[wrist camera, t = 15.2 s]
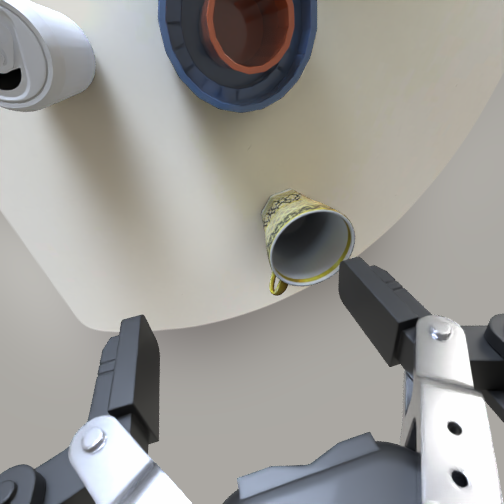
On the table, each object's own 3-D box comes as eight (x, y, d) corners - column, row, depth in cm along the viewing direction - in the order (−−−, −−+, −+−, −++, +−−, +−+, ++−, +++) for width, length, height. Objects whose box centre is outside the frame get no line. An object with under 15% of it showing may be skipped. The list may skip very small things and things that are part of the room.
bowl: (181, 114, 32) (183, 123, 28) (139, -60, 24) (133, -83, 20) (299, 93, 33) (317, 99, 29) (293, -77, 26) (317, -102, 22)
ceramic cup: (273, 163, 37) (302, 194, 29) (332, 194, 41) (372, 228, 33) (226, 247, 42) (240, 293, 34) (284, 267, 47) (308, 312, 38)
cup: (206, 74, 30) (216, 80, 23) (190, -12, 26) (197, -33, 20) (269, 63, 31) (296, 66, 24) (262, -21, 27) (292, -45, 21)
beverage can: (15, 78, 27) (-71, 93, 18) (16, -7, 24) (-86, -46, 15) (93, 104, 30) (56, 130, 20) (101, 29, 27) (63, 16, 17)
